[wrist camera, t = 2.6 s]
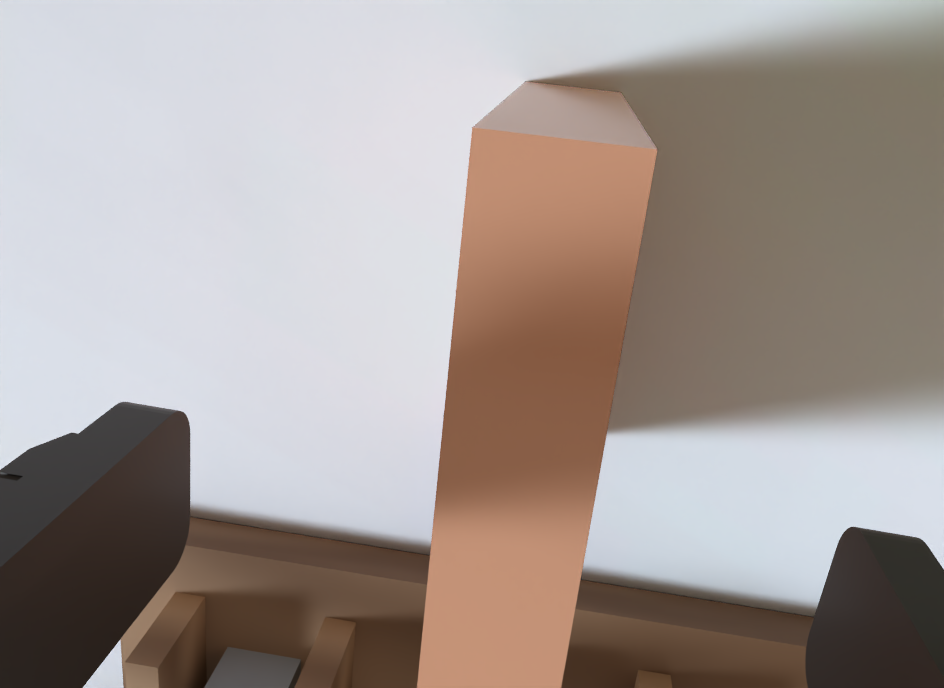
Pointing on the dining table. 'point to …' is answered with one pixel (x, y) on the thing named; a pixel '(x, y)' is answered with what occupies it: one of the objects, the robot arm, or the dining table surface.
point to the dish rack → (402, 615)
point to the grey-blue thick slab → (254, 670)
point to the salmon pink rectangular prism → (531, 379)
